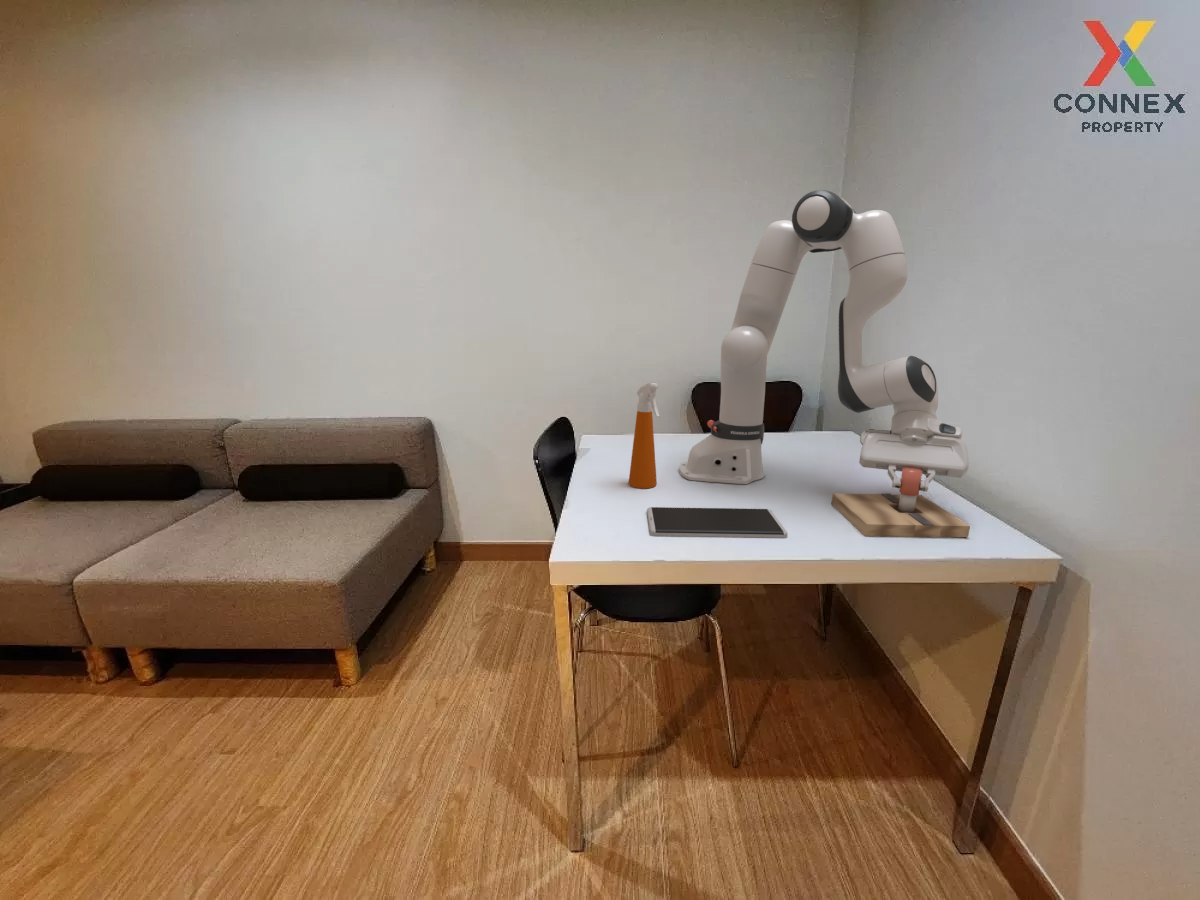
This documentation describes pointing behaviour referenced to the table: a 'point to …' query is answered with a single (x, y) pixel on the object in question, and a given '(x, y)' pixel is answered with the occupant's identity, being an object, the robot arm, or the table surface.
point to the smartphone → (714, 522)
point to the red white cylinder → (909, 489)
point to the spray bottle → (644, 440)
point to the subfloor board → (898, 516)
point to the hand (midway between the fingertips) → (909, 488)
